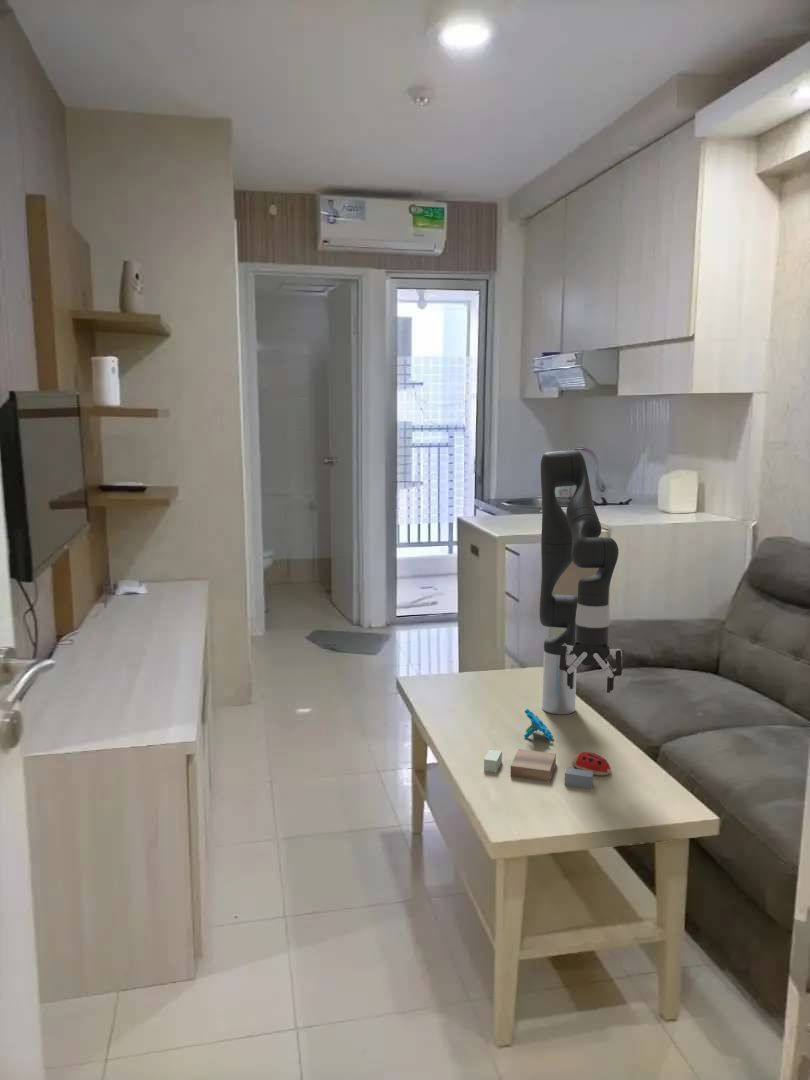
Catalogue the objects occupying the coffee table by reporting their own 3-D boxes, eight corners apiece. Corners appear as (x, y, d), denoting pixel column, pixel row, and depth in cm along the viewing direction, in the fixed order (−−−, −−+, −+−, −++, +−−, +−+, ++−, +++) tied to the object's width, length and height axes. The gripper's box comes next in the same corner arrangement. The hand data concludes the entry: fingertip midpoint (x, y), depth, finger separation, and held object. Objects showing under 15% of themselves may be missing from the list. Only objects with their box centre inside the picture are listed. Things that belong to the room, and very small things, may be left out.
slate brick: (564, 785, 181) (564, 773, 180) (566, 780, 183) (566, 767, 183) (591, 789, 179) (591, 777, 178) (592, 784, 181) (593, 771, 181)
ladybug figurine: (581, 759, 195) (582, 745, 194) (617, 772, 188) (618, 757, 187) (566, 767, 190) (566, 753, 189) (602, 781, 183) (602, 766, 182)
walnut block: (518, 760, 194) (518, 749, 194) (555, 765, 192) (555, 753, 191) (510, 778, 185) (510, 765, 185) (549, 783, 182) (549, 771, 182)
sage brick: (489, 761, 194) (489, 749, 193) (501, 762, 193) (502, 750, 192) (483, 771, 188) (484, 759, 188) (496, 773, 187) (496, 760, 187)
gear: (556, 740, 201) (528, 711, 202) (539, 756, 202) (512, 727, 202) (553, 729, 212) (527, 702, 213) (537, 744, 213) (511, 717, 213)
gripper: (625, 621, 186) (622, 688, 189) (563, 616, 191) (561, 682, 193) (622, 628, 179) (619, 698, 182) (558, 623, 184) (557, 691, 186)
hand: (590, 690), depth 187 cm, fingers open, 8 cm apart
